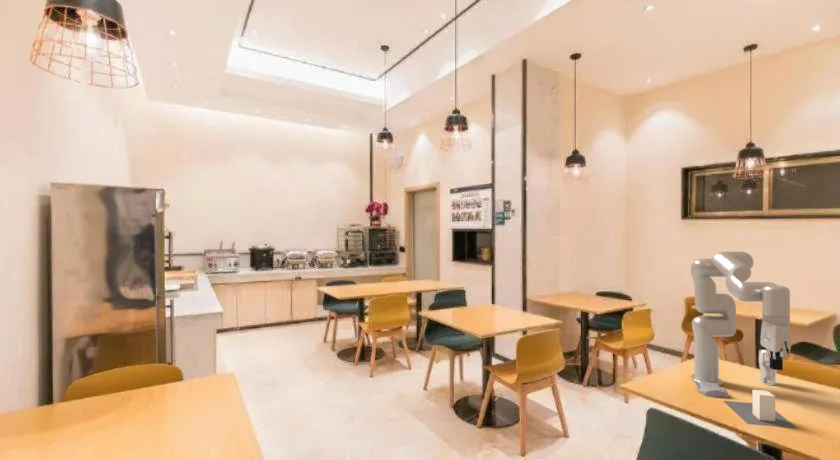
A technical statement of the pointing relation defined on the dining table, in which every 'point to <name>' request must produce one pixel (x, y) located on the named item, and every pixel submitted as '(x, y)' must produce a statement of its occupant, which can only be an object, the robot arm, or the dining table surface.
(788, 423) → the charcoal mat
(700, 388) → the stone block
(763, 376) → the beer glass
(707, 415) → the dining table surface
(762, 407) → the cream block
